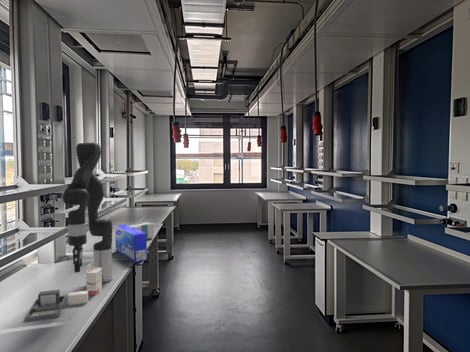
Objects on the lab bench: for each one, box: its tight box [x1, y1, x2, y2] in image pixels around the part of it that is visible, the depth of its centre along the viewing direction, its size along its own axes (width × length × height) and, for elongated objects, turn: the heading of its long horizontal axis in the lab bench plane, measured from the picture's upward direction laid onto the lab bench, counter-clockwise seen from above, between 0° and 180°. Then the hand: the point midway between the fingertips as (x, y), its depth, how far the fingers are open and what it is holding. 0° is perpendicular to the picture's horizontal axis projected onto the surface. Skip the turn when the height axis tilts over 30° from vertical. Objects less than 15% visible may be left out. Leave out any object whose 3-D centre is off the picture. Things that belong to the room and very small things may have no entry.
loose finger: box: [67, 290, 89, 306], centre depth 160 cm, size 4×8×6 cm, turn 108°
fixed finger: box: [37, 289, 61, 306], centre depth 157 cm, size 4×8×6 cm, turn 108°
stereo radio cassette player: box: [129, 214, 155, 241], centre depth 289 cm, size 21×8×20 cm, turn 148°
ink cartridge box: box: [85, 261, 103, 296], centre depth 173 cm, size 9×5×15 cm, turn 4°
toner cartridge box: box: [114, 224, 148, 264], centre depth 242 cm, size 39×8×18 cm, turn 36°
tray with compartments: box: [24, 295, 67, 322], centre depth 152 cm, size 20×12×3 cm, turn 18°
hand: (78, 269), depth 159 cm, fingers open, 8 cm apart
